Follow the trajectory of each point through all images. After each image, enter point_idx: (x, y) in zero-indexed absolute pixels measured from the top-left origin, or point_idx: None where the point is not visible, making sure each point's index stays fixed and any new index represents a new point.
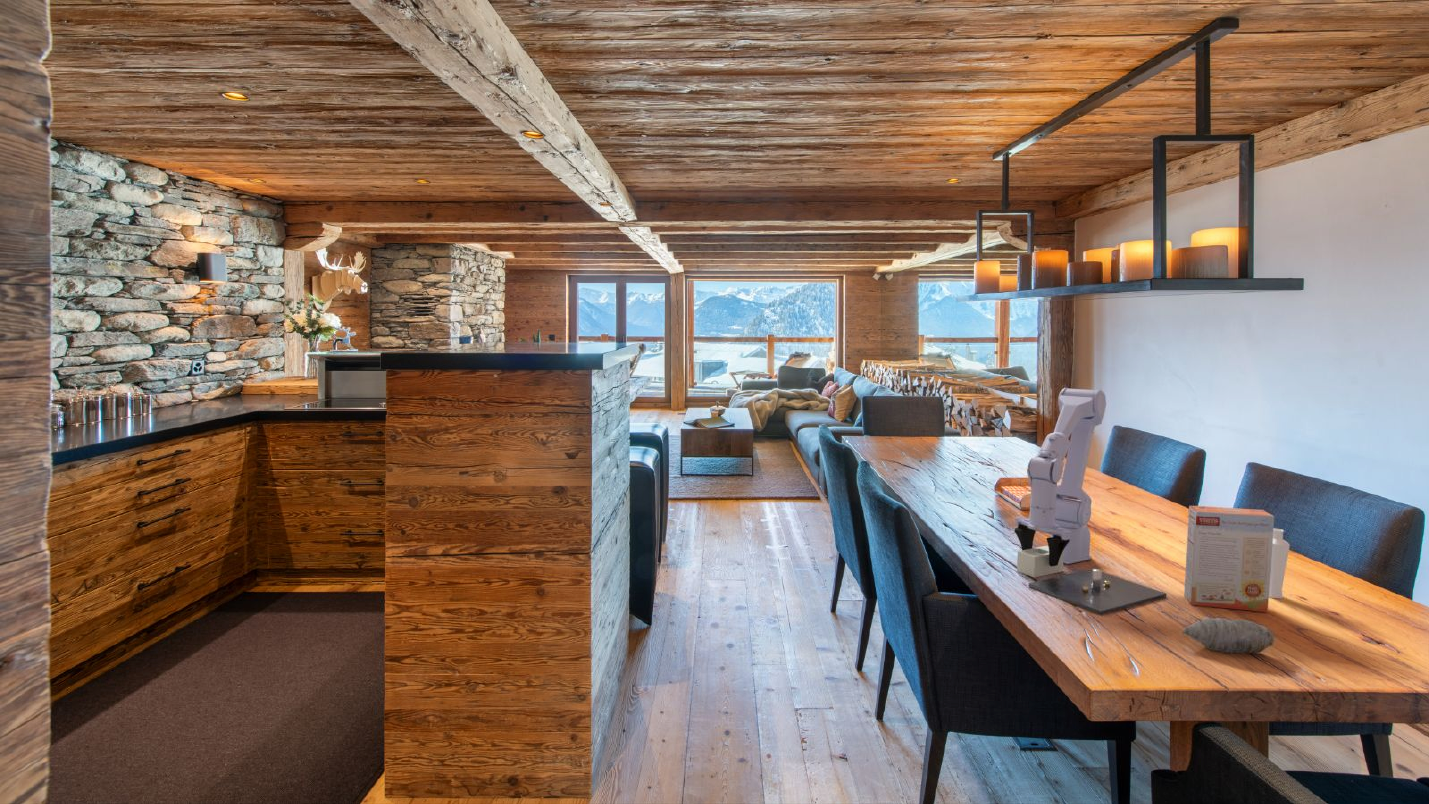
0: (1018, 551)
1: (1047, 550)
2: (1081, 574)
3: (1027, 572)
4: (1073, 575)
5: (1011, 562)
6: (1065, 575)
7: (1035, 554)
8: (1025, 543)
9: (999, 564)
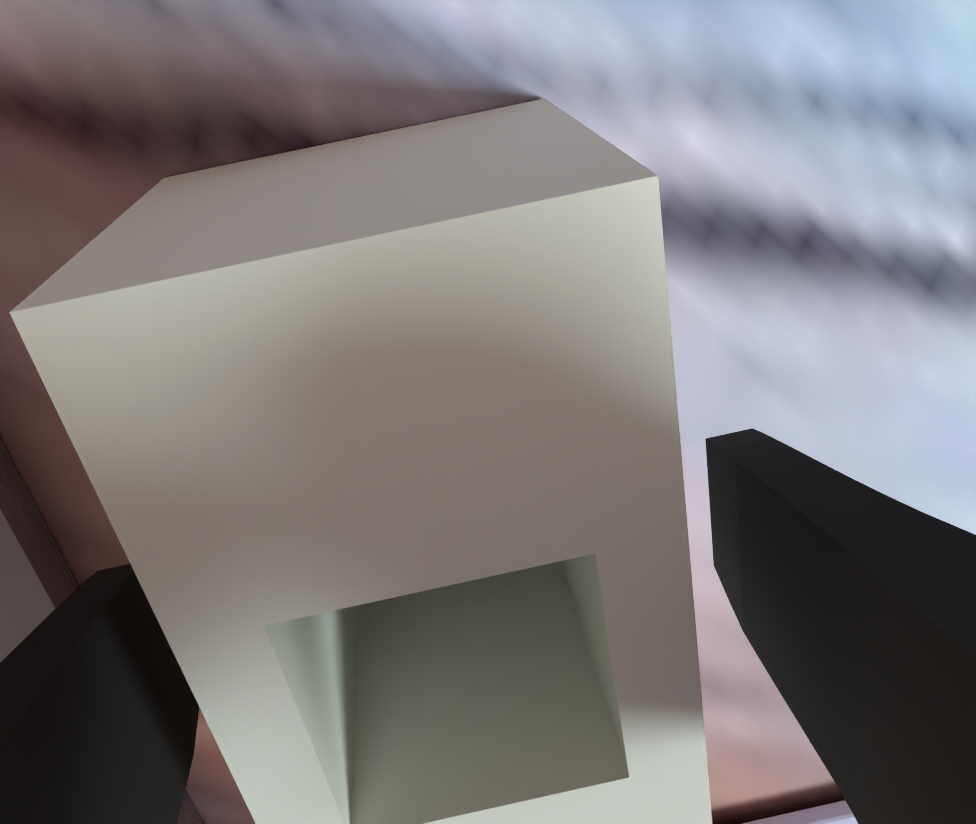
0: (636, 184)
1: None
2: None
3: (310, 158)
4: None
5: (914, 300)
6: None
7: (265, 476)
8: (865, 626)
9: (950, 18)
